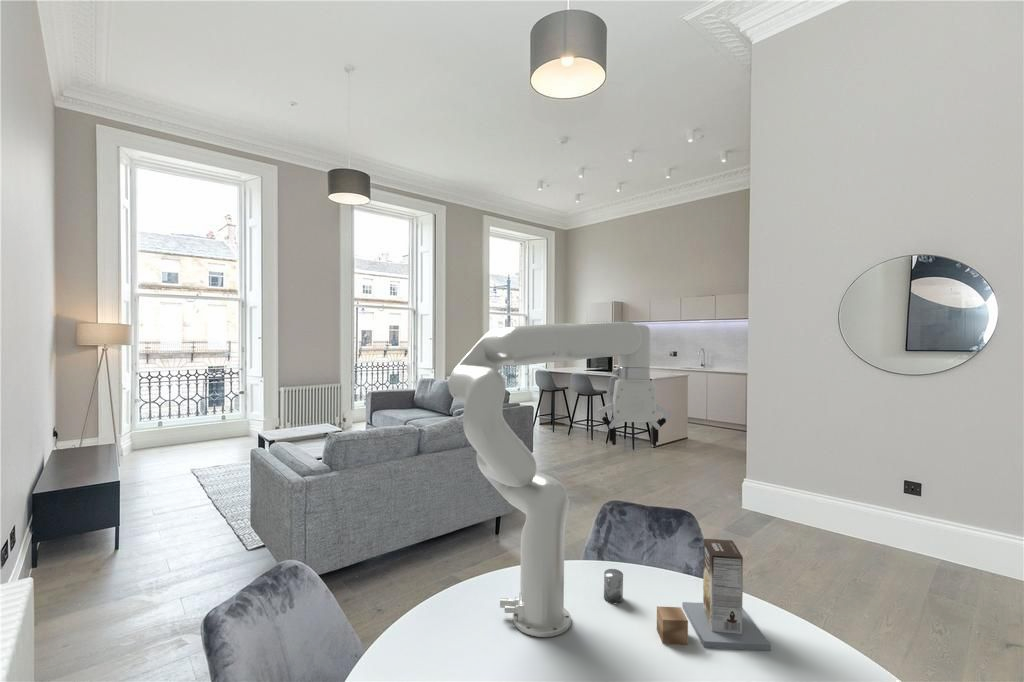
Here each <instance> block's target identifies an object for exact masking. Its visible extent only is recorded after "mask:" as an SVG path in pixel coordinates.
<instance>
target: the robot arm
mask: <svg viewBox="0 0 1024 682" xmlns="http://www.w3.org/2000/svg"><path fill="white" fill-rule="evenodd" d="M650 331H651V330H650V328H649V327H648V325H645V324H635V323H633V322H631V321H616V322H605V323H604V322H603V323H602V322H601V323H570V322H569V323H551V324H550V323H549V324H532V325H517V326H515V325H514V326H506V327H494V328H492V329H490V330H489V331H487V332H486V333H485V334H484V335H483V336H482V337H481V338H480V339H479V340H478V341H477V342H476V343H475V344H474V345H473V347H472V348H471V349H470V351H468V353H466V355H465V356H464V357H463V358H462V359H461V360H460V361H459V362H458V364H457V365H456V366H455V367H454V369H453V370H452V371H451V374H450V375H449V377H448V383H447V384H448V391H449V394H450V395H451V397H452V399H454V400H456V401H457V402H458V403H459V402H460V403H461V404H464V407H463V415H462V425H463V431H464V435H465V437H466V439H467V441H468V443H469V444H470V445H471V447H473V449H474V450H475V451H476V463H477V466H478V469H479V470H480V472H481V473H482V474H483V476H484V477H485V478H486V479H487V480H488V482H490V484H491V485H492V486H493V487H494V488H495V489H496V491H497V492H498V493H499V494H500V495H501V496H502V497H503V498H504V499H505V500H506V501H507V502H508V504H510V505H511V506H513V507H514V508H516V509H517V510H519V511H520V512H522V513H523V514H525V522H524V524H523V527H522V529H521V534H520V582H519V583H520V585H519V586H520V590H519V591H520V592H519V594H518V595H519V596H518V597H517V596H515V597H514V598H506V597H501V598H500V601H499V608H501V609H502V608H503V609H504V614H505V613H506V614H512V621H513V624H514V626H515V628H517V630H519V631H520V632H522V633H524V634H526V635H527V636H533V637H538V638H550V637H551V638H552V637H556V636H559V635H562V634H564V633H565V632H566V631H568V629H569V628H570V627H571V625H572V624H571V623H572V621H571V619H572V617H571V614H570V612H569V610H567V609H566V608H565V603H564V602H565V600H564V598H565V590H564V589H565V532H566V531H565V530H566V522H567V518H568V517H567V516H568V511H569V508H570V507H569V505H570V500H569V499H570V498H569V494H568V491H567V489H566V488H565V486H564V485H563V483H562V482H560V481H559V480H557V479H556V478H554V477H552V476H550V475H548V474H545V473H543V472H540V471H538V470H537V462H536V459H535V457H534V455H533V453H532V452H531V450H530V449H529V448H528V447H527V445H525V443H524V442H523V441H522V439H520V438H519V436H518V435H517V434H516V433H515V432H514V431H513V430H512V428H511V427H510V425H509V424H508V423H507V422H506V420H505V417H504V415H503V407H504V400H505V396H506V391H507V390H506V387H507V386H506V382H505V381H506V380H505V379H504V377H503V375H502V374H501V373H500V372H499V371H500V370H501V369H502V367H503V366H511V367H512V366H513V367H518V366H519V367H520V366H529V365H531V366H532V365H537V364H538V365H539V364H546V363H558V362H572V361H580V360H589V359H599V358H610V357H611V358H612V357H618V361H617V365H618V366H617V368H616V369H612V371H611V375H612V376H615V377H617V379H615V382H614V385H613V386H614V387H613V395H612V402H611V403H608V404H607V405H604V406H603V407H601V408H599V409H597V413H598V415H599V416H600V419H601V420H602V422H604V424H605V425H606V426H607V427H608V441H609V442H610V443H611V445H612V446H615V445H616V444H617V429H616V425H617V424H618V423H619V422H620V423H621V422H623V423H649V424H650V425H651V428H650V445H651V446H653V447H657V443H659V430H660V429H661V427H662V426H664V425H665V424H666V422H667V420H668V418H669V416H670V414H671V412H670V410H668V409H666V408H664V407H662V406H661V405H658V404H657V400H656V389H655V383H654V380H650V379H651V378H650V376H651V375H650V372H651V370H650V366H651V365H650V364H651V363H650V362H651V357H650V355H651V352H650V351H651V332H650ZM609 411H612V413H611V415H612V418H611V419H610V420H609V419H608V418H607V416H606V413H607V412H609ZM657 412H659V413H661V416H660V418H659V419H657ZM656 420H657V421H656Z"/></svg>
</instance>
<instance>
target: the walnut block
mask: <svg viewBox="0 0 1024 682" xmlns="http://www.w3.org/2000/svg"><path fill="white" fill-rule="evenodd" d="M656 631H657V633H658V636H659V638H660V640H661V644H662V645H675V646H676V645H677V646H688V645H689V644H688V643H689V634H688V632H689V619H688V617H687V615H686V613H685V612H684V610H683V608H682V607H680V606H656Z"/></svg>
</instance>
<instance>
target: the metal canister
mask: <svg viewBox="0 0 1024 682" xmlns="http://www.w3.org/2000/svg"><path fill="white" fill-rule="evenodd" d="M623 598H624V573H623V572H622V571H620V569H616V568H608V569H605V570H604V572H603V599H604V600H605V601H606V602H607V601H608V602H607V603H609V602H611V603H610V604H613V603H618V604H620V603H622V602H623Z"/></svg>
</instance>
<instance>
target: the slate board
mask: <svg viewBox="0 0 1024 682" xmlns="http://www.w3.org/2000/svg"><path fill="white" fill-rule="evenodd" d="M682 610H683V612H684V614H685V616H686V618H687V620H688V621H689V622H690V624H691V627H692V628H693V630H694V631H695V634H696V636H697V637H698V640H699V641H700V643H701V645H702V647H703V648H710V649H733V650H751V651H752V650H753V651H771V649H772V647H771V646H772V645H771V643H770V641H769V640H768V639H767V638H766V636H765V635H764V634H763V633H762V631H761V630H760V629H759V627H758V626H757V624H756V623H755V622H754V621H753V619H752V618H751V617H750V615H749V614H748V613H747V612H746V610H745V609H744V607H742V634H732V633H722V632H713V631H711V628H710V625H709V623H708V620H707V617H706V614H705V611H704V608H703V602H692V601H691V602H687V601H682Z"/></svg>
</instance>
